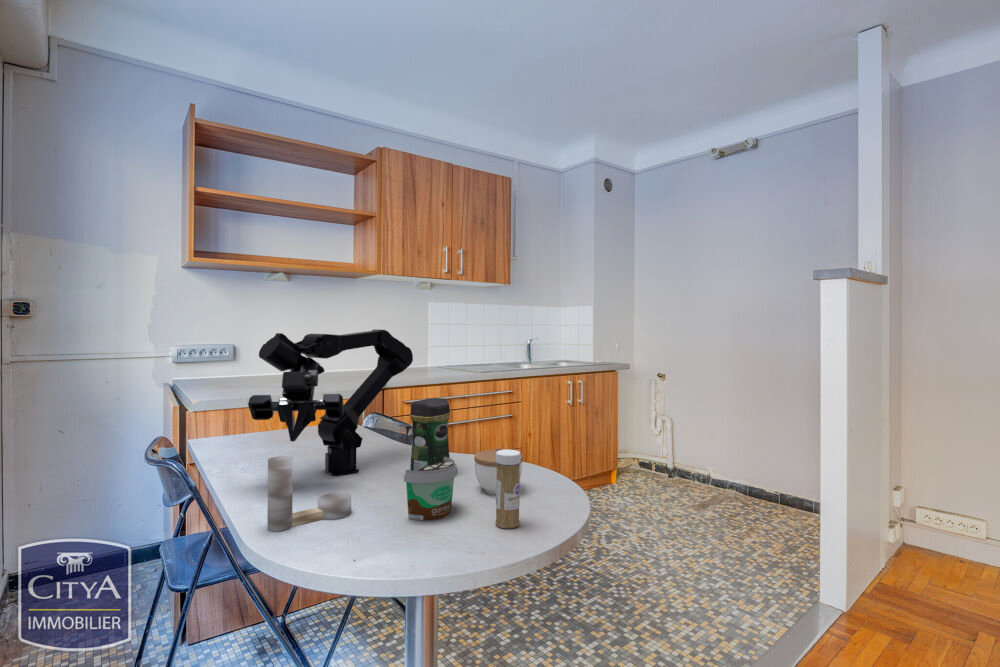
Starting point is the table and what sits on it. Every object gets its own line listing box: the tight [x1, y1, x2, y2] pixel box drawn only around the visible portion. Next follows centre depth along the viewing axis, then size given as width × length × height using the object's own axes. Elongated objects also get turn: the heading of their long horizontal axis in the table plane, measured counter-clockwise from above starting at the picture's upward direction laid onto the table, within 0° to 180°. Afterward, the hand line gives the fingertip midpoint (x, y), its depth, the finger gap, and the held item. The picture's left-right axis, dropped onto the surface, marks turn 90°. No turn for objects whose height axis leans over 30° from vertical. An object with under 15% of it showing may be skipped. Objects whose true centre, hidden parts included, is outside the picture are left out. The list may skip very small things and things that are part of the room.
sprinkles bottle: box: [494, 449, 522, 530], centre depth 94 cm, size 5×5×14 cm
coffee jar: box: [409, 397, 451, 471], centre depth 124 cm, size 10×8×19 cm
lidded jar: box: [474, 447, 524, 495], centre depth 113 cm, size 11×11×9 cm
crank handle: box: [266, 455, 352, 533], centre depth 93 cm, size 15×6×12 cm, turn 132°
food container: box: [403, 457, 459, 522], centre depth 96 cm, size 12×6×10 cm, turn 148°
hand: (292, 440), depth 104 cm, fingers closed
